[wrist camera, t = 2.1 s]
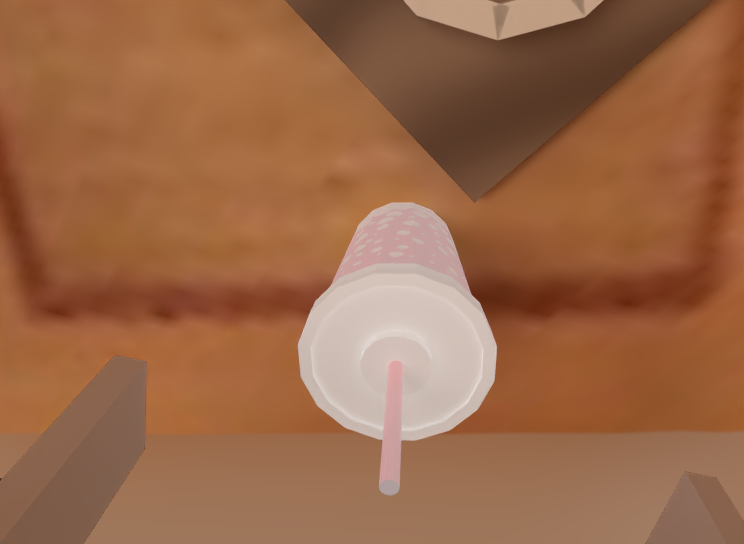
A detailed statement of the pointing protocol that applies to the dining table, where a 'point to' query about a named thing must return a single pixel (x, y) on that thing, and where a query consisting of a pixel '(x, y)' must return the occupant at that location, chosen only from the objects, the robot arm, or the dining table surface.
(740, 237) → the dining table surface
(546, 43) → the holder
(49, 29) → the dining table surface
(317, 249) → the dining table surface
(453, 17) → the ring
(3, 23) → the dining table surface
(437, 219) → the beverage cup
